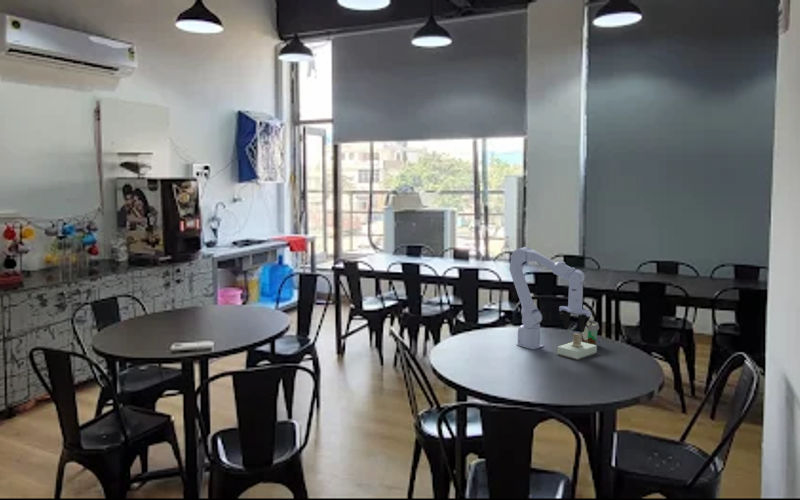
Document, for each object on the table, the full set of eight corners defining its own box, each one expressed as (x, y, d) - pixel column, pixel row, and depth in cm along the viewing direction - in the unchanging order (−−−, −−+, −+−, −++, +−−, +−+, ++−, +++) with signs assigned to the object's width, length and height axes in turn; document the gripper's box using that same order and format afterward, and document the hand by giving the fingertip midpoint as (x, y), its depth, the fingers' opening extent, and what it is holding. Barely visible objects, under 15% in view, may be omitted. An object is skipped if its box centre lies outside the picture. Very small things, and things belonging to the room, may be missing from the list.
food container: (602, 348, 276) (603, 326, 275) (588, 348, 276) (588, 326, 275) (594, 341, 288) (594, 319, 287) (580, 341, 288) (581, 319, 287)
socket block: (557, 354, 268) (557, 346, 267) (576, 348, 277) (576, 340, 276) (577, 359, 260) (577, 351, 260) (596, 353, 269) (596, 345, 269)
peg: (571, 352, 268) (571, 334, 267) (575, 351, 270) (576, 333, 269) (577, 354, 266) (577, 335, 265) (582, 353, 268) (582, 334, 267)
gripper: (555, 297, 270) (554, 328, 272) (584, 302, 259) (583, 335, 261) (565, 295, 275) (564, 325, 277) (594, 300, 264) (593, 332, 266)
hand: (574, 330), depth 269 cm, fingers open, 7 cm apart
